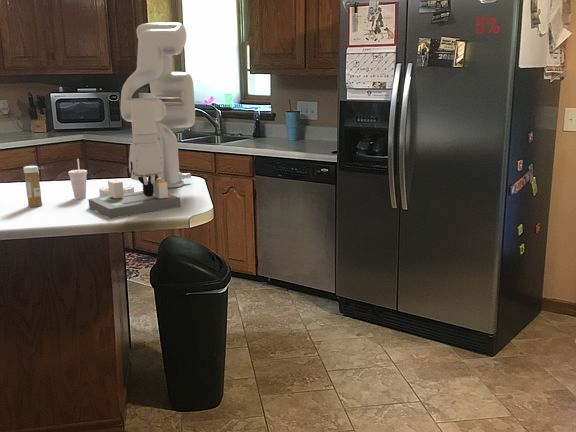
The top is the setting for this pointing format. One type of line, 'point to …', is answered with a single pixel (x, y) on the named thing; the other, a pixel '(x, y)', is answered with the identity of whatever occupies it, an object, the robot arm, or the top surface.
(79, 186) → the smoothie
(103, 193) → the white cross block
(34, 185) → the sprinkles bottle
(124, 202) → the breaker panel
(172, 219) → the top surface
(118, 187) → the block
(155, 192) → the breaker
